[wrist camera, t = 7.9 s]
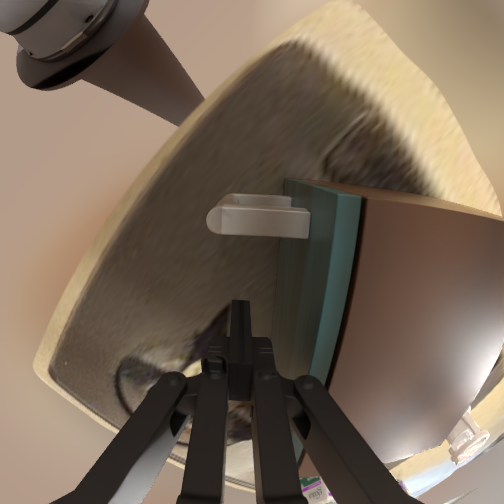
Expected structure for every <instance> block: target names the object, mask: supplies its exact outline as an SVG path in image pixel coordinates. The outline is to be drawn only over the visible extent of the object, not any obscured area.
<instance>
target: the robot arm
mask: <svg viewBox="0 0 504 504" xmlns="http://www.w3.org/2000/svg"><path fill="white" fill-rule="evenodd" d="M118 1H119V0H0V31H1V32H4V33H6V34H9V35H12V36H13V37H14V38H15V39H16V40H17V42H18V43H19V44H20V45H21V46H22V47H23V48H24V49H25V51H26V52H27V54H28V55H29V56H30V57H31V58H32V59H34V60H37V61H40V62H43V63H53V62H57V61H60V60H62V59H64V58H66V57H68V56H70V55H72V54H73V53H75V52H76V51H77V50H79V49H80V48H82V47H83V46H84V45H85V44H86V43H88V42H89V41H90V40H91V39H92V38H93V37H94V36H95V35H96V34H97V33H98V32H99V31H100V30H101V28H102V27H103V26H104V25H105V24H106V22H107V21H108V19H109V18H110V17H111V15H112V13H113V12H114V10H115V8H116V6H117V3H118ZM201 367H202V373H200V374H199V375H196V376H193V377H186V376H185V375H184V374H182V373H180V372H175V371H173V372H168V373H165V374H164V375H162V376H161V378H160V379H159V380H158V382H157V383H156V384H155V385H154V387H153V388H152V389H151V391H150V392H149V393H148V395H147V396H146V397H145V399H144V400H143V401H142V402H141V404H140V405H139V406H138V408H137V409H136V410H135V412H134V413H133V414H132V416H131V417H130V418H129V420H128V421H127V422H126V423H125V425H124V426H123V427H122V429H121V430H120V431H119V433H118V434H117V435H116V437H115V438H114V439H113V441H112V442H111V443H110V444H109V446H108V447H107V448H106V450H105V451H104V452H103V453H102V455H101V456H100V457H99V459H98V460H97V461H96V463H95V464H94V466H93V467H92V468H91V469H90V471H89V472H88V473H87V474H86V476H85V477H84V478H83V480H82V481H81V482H80V484H79V485H78V486H77V487H76V489H75V490H74V491H72V492H70V493H68V494H67V495H65V496H63V497H61V498H59V499H57V500H55V501H53V502H51V503H50V504H141V503H142V501H143V500H144V498H145V496H146V495H147V493H148V491H149V489H150V488H151V486H152V484H153V483H154V481H155V479H156V477H157V475H158V474H159V472H160V471H161V469H162V467H163V465H164V463H165V462H166V460H167V458H168V456H169V455H170V453H171V451H172V449H173V448H174V446H175V444H176V442H177V440H178V439H179V437H180V435H181V433H182V431H183V430H184V428H185V426H186V424H187V422H188V421H189V419H190V417H191V415H192V414H194V418H193V423H192V429H191V435H190V441H189V447H188V453H187V459H186V465H185V471H184V477H183V483H182V490H181V494H180V495H179V496H178V498H177V502H176V504H224V485H225V464H226V444H227V426H228V409H229V400H236V401H250V399H251V408H250V417H251V426H252V442H253V458H254V473H255V488H256V501H257V504H309V503H308V500H307V498H306V497H305V496H304V495H303V493H302V489H301V483H300V478H299V473H298V467H297V462H296V457H295V451H294V446H293V441H292V436H291V430H290V425H289V422H290V424H291V425H292V427H293V429H294V431H295V433H296V434H297V436H298V438H299V440H300V442H301V443H302V445H303V447H304V449H305V451H306V452H307V454H308V456H309V458H310V459H311V461H312V463H313V465H314V466H315V468H316V470H317V471H318V473H319V475H320V477H321V478H322V480H323V482H324V483H325V485H326V487H327V488H328V490H329V492H330V493H331V495H332V497H333V498H334V500H335V501H336V503H337V504H424V503H422V502H420V501H418V500H417V499H415V498H413V497H411V496H409V495H408V494H407V493H406V492H405V491H404V490H403V488H402V487H401V486H400V485H399V483H398V482H397V481H396V480H395V478H394V477H393V476H392V475H391V473H390V472H389V471H388V470H387V468H386V467H385V466H384V464H383V463H382V462H381V461H380V459H379V458H378V457H377V456H376V454H375V453H374V452H373V450H372V449H371V448H370V446H369V445H368V444H367V443H366V441H365V440H364V439H363V437H362V436H361V435H360V433H359V432H358V431H357V430H356V428H355V427H354V426H353V424H352V423H351V422H350V420H349V419H348V418H347V416H346V415H345V414H344V412H343V411H342V410H341V408H340V407H339V406H338V404H337V403H336V402H335V400H334V399H333V398H332V396H331V395H330V394H329V392H328V391H327V390H326V388H325V387H324V386H323V384H322V383H321V382H320V380H319V379H318V378H316V377H314V376H312V375H301V376H299V377H297V378H296V379H295V380H291V379H287V378H284V377H282V376H281V375H280V374H279V372H278V371H277V370H276V366H275V360H274V354H273V347H272V342H271V341H270V340H269V339H268V338H267V337H252V334H251V317H250V301H244V300H232V312H231V327H230V337H221V336H213V337H212V338H211V339H210V340H209V345H208V350H207V355H205V356H204V357H203V358H202V360H201Z"/></svg>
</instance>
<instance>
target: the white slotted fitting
mask: <svg viewBox="0 0 504 504" xmlns="http://www.w3.org/2000/svg"><path fill="white" fill-rule="evenodd" d="M470 409H471V407H470V406H469V407H468V409H467V410H466V412H465V413H464V415H463V416H462V418H461V419H460V420H459V422H458V423H457V425H456V426H455V427H454V429H453V430H452V431H451V432H450V434H449V435H448V436H447V438H446V440H447V441H448V443H449V445H450V446H451V448H450V449H449V450H448V451H449V452H450V454H451V460H452V462H453V464H456V466H457V465H458V464H460V463H462V462H464V461H466V460H468V459H469V458H470V457H471V456H472V454H473V453H474V452H475V451H477V450H478V449H479V448H480V447H481V446H482V445H483V444H484V443H485V442H486V440H487V439H488V438H489V436H490V434H489V433H488V431H487V430H486V429H485V430H482V431H481V430H480V427H479V426H478V425H477V424H476V422H475V421H474V419H473V418H472V416H471V415H470V413H469V412H470ZM479 439H480V440H479ZM465 440H466V442H465ZM478 440H479V441H478ZM476 441H478V442H477V443H476V444H475V445H474V446H473V447H472V448H471V449H469V450H468V451H467V452H465V453H464V451H465V450H466V449H467V448H469V447H470V446H471V445H472V444H474V443H475V442H476Z"/></svg>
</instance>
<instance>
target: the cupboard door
mask: <svg viewBox="0 0 504 504" xmlns="http://www.w3.org/2000/svg"><path fill="white" fill-rule="evenodd" d="M361 200H362V197H361V196H358V195H355V194H351V193H348V192H344V191H341V190H337V189H333V188H330V187H326V186H322V185H318V184H314V183H310V182H306V181H302V180H298V179H290V178H285V183H284V196H278V195H262V194H243V193H228V194H226V195H225V196H224V197H223V198H222V199H221V200H220V201H219V202H218V203H217V204H216V205H215V206H214V207H213V208H212V210H211V211H210V212H209V213H208V215H207V218H206V223H207V226H208V228H209V229H210V230H211V231H212V232H213V233H215V234H221V235H243V236H263V237H280V249H279V261H278V272H277V283H276V294H275V304H274V314H273V324H272V333H271V342H272V347H273V354H274V360H275V366H276V370H277V371H278V372H279V374H280V375H281V376H282V377H284V378H287V379H291V380H295V379H296V378H297V377H299V376H301V375H312V376H314V377H316V378H318V379H319V380H320V382H321V383H322V384H323V386H324V385H325V382H326V379H327V375H328V372H329V368H330V364H331V361H332V357H333V353H334V349H335V346H336V342H337V338H338V333H339V329H340V325H341V321H342V316H343V312H344V307H345V302H346V297H347V292H348V287H349V282H350V276H351V271H352V265H353V259H354V253H355V246H356V240H357V233H358V225H359V217H360V209H361ZM289 425H290V430H291V436H292V441H293V446H294V451H295V457H296V462H298V460H299V457H300V455H301V452H302V450H303V445H302V443H301V442H300V440H299V438H298V436H297V434H296V433H295V431H294V429H293V427H292V425H291V424H290V422H289Z"/></svg>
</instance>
